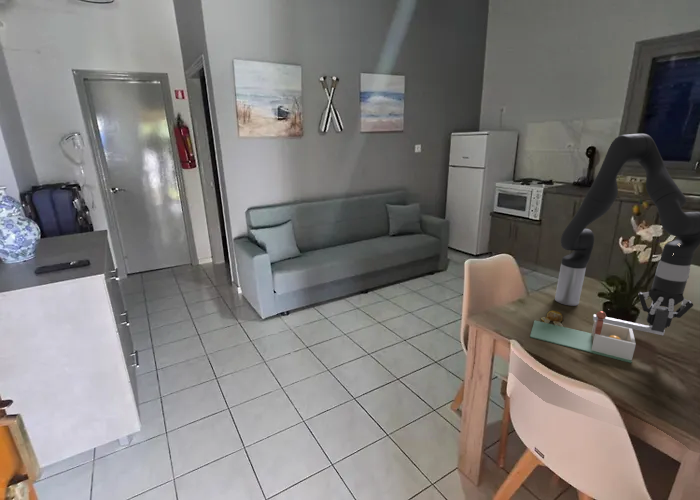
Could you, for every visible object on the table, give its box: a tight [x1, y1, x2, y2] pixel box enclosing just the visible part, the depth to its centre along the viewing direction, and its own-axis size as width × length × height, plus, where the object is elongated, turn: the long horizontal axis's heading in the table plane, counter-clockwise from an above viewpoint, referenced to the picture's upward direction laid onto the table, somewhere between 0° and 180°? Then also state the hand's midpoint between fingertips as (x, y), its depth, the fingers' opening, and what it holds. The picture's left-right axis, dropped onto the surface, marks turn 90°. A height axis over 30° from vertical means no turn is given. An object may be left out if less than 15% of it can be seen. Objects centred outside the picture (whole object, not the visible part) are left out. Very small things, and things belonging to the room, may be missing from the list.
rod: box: [592, 306, 669, 344], centre depth 121 cm, size 4×19×17 cm, turn 58°
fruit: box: [540, 310, 565, 327], centre depth 143 cm, size 8×8×4 cm
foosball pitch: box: [529, 319, 637, 364], centre depth 129 cm, size 14×30×6 cm, turn 58°
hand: (657, 325), depth 116 cm, fingers closed on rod, 3 cm apart
